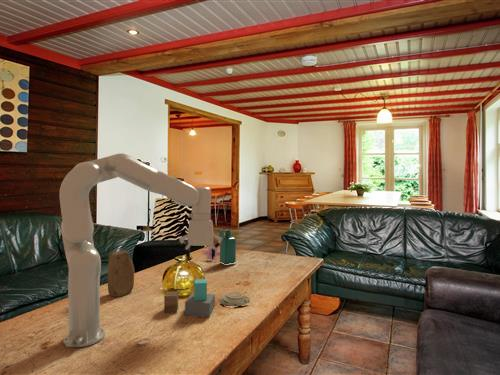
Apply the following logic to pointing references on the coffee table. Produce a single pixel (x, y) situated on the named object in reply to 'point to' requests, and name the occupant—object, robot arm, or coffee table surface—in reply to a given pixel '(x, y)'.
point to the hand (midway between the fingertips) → (200, 258)
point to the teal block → (200, 289)
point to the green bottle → (227, 247)
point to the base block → (199, 306)
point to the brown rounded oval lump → (120, 273)
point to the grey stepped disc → (234, 299)
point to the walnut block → (171, 302)
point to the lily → (209, 253)
